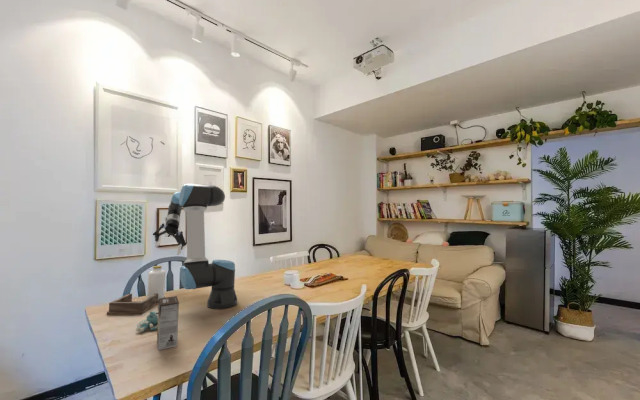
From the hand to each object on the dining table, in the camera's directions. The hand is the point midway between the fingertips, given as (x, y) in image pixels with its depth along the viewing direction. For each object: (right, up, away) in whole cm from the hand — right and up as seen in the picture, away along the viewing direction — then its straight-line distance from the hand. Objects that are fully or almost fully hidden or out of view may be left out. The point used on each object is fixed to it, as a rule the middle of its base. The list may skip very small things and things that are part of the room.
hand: (168, 250), depth 167 cm
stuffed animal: (+18, -25, -47) cm, 56 cm away
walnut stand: (-4, -25, -25) cm, 35 cm away
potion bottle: (-2, -26, -9) cm, 27 cm away
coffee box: (+32, -24, -61) cm, 73 cm away
